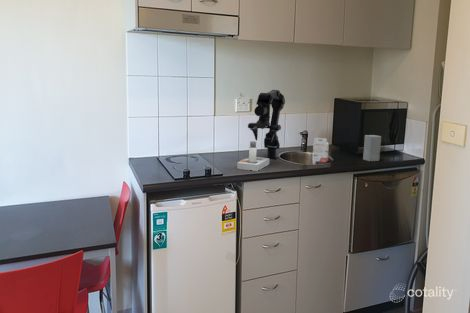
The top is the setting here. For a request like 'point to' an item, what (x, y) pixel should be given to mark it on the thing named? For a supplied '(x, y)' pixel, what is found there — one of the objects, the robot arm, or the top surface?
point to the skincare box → (372, 148)
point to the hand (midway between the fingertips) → (263, 141)
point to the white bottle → (252, 152)
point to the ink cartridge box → (320, 150)
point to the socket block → (259, 164)
